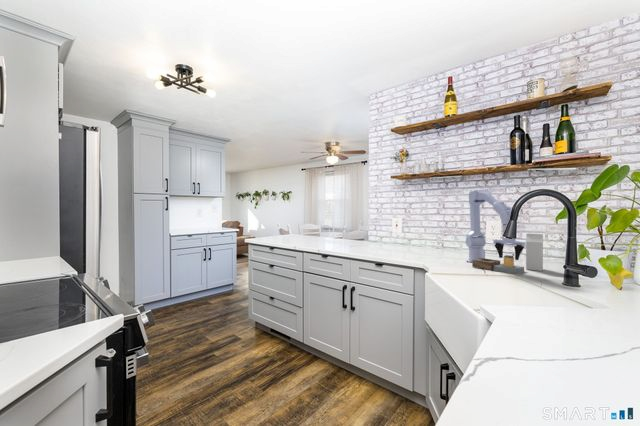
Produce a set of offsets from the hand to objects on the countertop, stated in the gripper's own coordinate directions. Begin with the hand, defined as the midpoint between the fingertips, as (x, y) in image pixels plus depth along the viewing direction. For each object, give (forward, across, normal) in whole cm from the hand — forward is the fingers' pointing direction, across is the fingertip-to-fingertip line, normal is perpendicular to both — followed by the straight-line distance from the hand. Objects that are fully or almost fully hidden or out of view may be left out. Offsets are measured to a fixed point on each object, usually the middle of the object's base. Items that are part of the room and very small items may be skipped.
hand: (508, 258), depth 151 cm
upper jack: (+6, -11, 0) cm, 13 cm away
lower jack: (+6, 0, 0) cm, 6 cm away
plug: (+6, 0, 0) cm, 7 cm away
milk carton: (+7, +6, +16) cm, 18 cm away
